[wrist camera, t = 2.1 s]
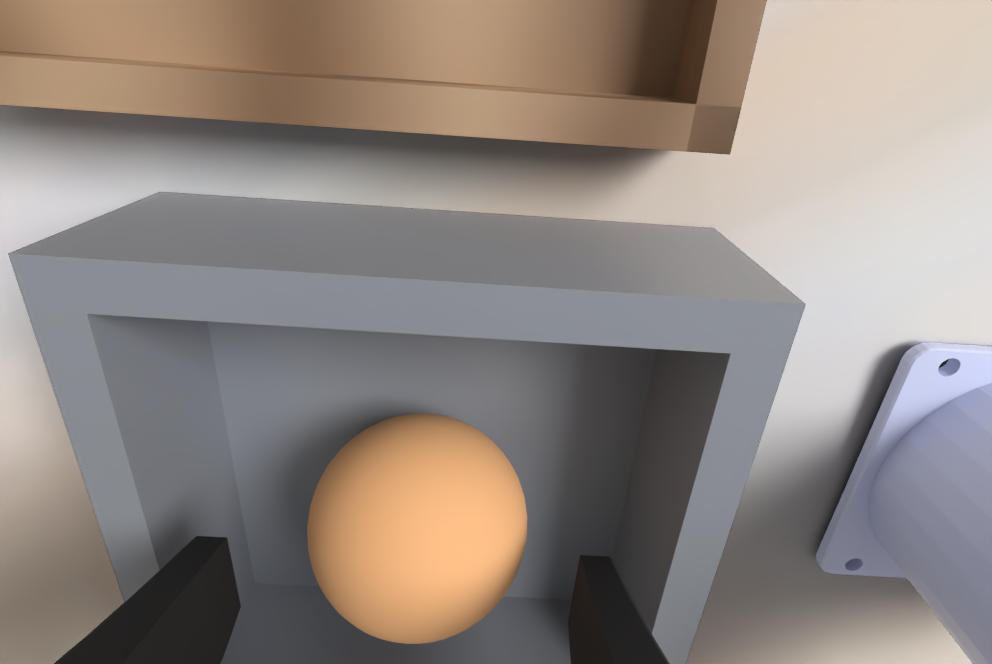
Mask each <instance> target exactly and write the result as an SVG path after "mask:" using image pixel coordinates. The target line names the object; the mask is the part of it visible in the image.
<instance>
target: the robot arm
mask: <svg viewBox="0 0 992 664" xmlns="http://www.w3.org/2000/svg"><path fill="white" fill-rule="evenodd" d="M947 359H949V361H948V362H947V363H946V364H945V365H944V366H942V367H941V368H939V366H940V365H941V363H942V362H944V361H945V360H947ZM816 560H817V562H818V564H819V566H820V567H821V569H822V570H823V571H824V572H826V573H830V574H840V575H859V576H877V577H895V578H907V579H908V580H909V581H910V583H911V584H912V585H913V587H914V588H915V589H916V590H917V592H918V593H919V594H920V596H921V597H922V598H923V600H924V601H925V602H926V603H927V605H928V606H929V607H930V609H931V610H932V611H933V613H934V614H935V615H936V616H937V618H938V619H939V620H940V622H941V623H942V624H943V626H944V627H945V628H946V629H947V631H948V632H949V633H950V635H951V636H952V637H953V639H954V640H955V641H956V642H957V644H958V645H959V646H960V648H961V649H962V650H963V652H964V653H965V654H966V655H967V657H968V658H969V659H970V661H971V662H972V663H973V664H992V346H979V345H963V344H947V343H931V342H927V343H920V344H917V345H915V346H913V347H911V348H910V349H909V350H908V351H906V353H905V354H904V356H903V357H902V359H901V361H900V363H899V366H898V368H897V370H896V372H895V375H894V377H893V379H892V382H891V384H890V386H889V388H888V391H887V393H886V395H885V398H884V400H883V402H882V404H881V407H880V409H879V411H878V414H877V416H876V418H875V421H874V423H873V425H872V427H871V430H870V432H869V434H868V437H867V439H866V441H865V443H864V446H863V448H862V450H861V453H860V455H859V457H858V459H857V462H856V464H855V466H854V469H853V471H852V473H851V475H850V478H849V480H848V482H847V485H846V487H845V489H844V492H843V494H842V496H841V498H840V501H839V503H838V505H837V508H836V510H835V512H834V514H833V517H832V519H831V521H830V524H829V526H828V528H827V530H826V533H825V535H824V537H823V540H822V542H821V544H820V547H819V549H818V551H817V553H816ZM240 608H241V604H240V599H239V594H238V589H237V584H236V579H235V574H234V569H233V564H232V559H231V554H230V549H229V544H228V539H227V537H209V536H196V537H195V538H194V539H193V540H191V541H190V542H189V543H188V544H187V545H186V546H185V547H184V548H183V549H182V550H181V551H179V552H178V553H177V554H176V555H175V556H174V557H173V558H172V559H171V560H170V561H169V562H168V563H167V564H166V565H164V566H163V567H162V568H161V569H160V570H159V571H158V572H157V573H156V574H155V575H154V576H153V577H152V578H151V579H149V580H148V581H147V582H146V583H145V584H144V585H143V586H142V587H141V588H140V589H139V590H138V591H136V592H135V593H134V594H133V595H132V596H131V597H130V598H129V599H128V600H127V601H126V602H124V603H123V604H122V605H121V606H120V607H119V608H118V609H117V610H115V611H114V612H113V613H112V614H111V615H110V616H109V617H108V618H107V619H105V620H104V621H103V622H102V623H101V624H100V625H99V626H98V627H96V628H95V629H94V630H93V631H92V632H91V633H90V634H88V635H87V636H86V637H85V638H84V639H83V640H81V641H80V642H79V643H78V644H77V645H76V646H74V647H73V648H72V649H71V650H70V651H68V652H67V653H66V654H65V655H64V656H62V657H61V658H60V659H59V660H58V661H56V662H55V663H54V664H220V663H221V661H222V659H223V656H224V653H225V651H226V648H227V645H228V642H229V640H230V637H231V634H232V631H233V628H234V625H235V622H236V619H237V616H238V613H239V611H240ZM568 630H569V645H570V659H571V664H670V663H669V662H668V660H667V658H666V657H665V655H664V653H663V652H662V650H661V649H660V647H659V645H658V644H657V642H656V640H655V639H654V637H653V635H652V633H651V632H650V630H649V628H648V626H647V625H646V623H645V621H644V619H643V618H642V616H641V614H640V612H639V610H638V608H637V607H636V605H635V603H634V601H633V599H632V597H631V595H630V593H629V591H628V589H627V587H626V585H625V583H624V582H623V579H622V577H621V575H620V573H619V571H618V569H617V567H616V565H615V563H614V561H613V560H612V559H611V558H610V557H609V556H589V555H580V558H579V563H578V569H577V574H576V580H575V585H574V591H573V597H572V602H571V608H570V613H569V619H568Z"/></svg>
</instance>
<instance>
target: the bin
mask: <svg viewBox="0 0 992 664" xmlns="http://www.w3.org/2000/svg"><path fill="white" fill-rule="evenodd" d="M8 255H9V258H10V261H11V264H12V267H13V270H14V273H15V276H16V279H17V282H18V285H19V288H20V291H21V294H22V297H23V300H24V303H25V306H26V309H27V312H28V315H29V318H30V321H31V324H32V327H33V330H34V333H35V336H36V339H37V342H38V345H39V348H40V351H41V354H42V357H43V360H44V363H45V366H46V369H47V372H48V375H49V378H50V381H51V384H52V387H53V390H54V393H55V396H56V399H57V402H58V405H59V408H60V411H61V414H62V417H63V420H64V423H65V426H66V429H67V432H68V435H69V438H70V441H71V444H72V447H73V450H74V453H75V456H76V459H77V462H78V465H79V468H80V471H81V474H82V477H83V480H84V483H85V486H86V489H87V492H88V495H89V498H90V501H91V504H92V507H93V510H94V513H95V516H96V519H97V522H98V525H99V528H100V531H101V534H102V537H103V540H104V543H105V546H106V549H107V552H108V555H109V558H110V561H111V564H112V567H113V570H114V572H115V575H116V578H117V581H118V584H119V587H120V590H121V593H122V596H123V599H124V602H126V601H127V600H128V599H129V598H130V597H131V596H132V595H133V594H134V593H135V592H136V591H138V590H139V589H140V588H141V587H142V586H143V585H144V584H145V583H146V582H147V581H148V580H149V579H151V578H152V577H153V576H154V575H155V574H156V573H157V572H158V571H159V570H160V569H161V568H162V567H163V566H164V565H166V564H167V563H168V562H169V561H170V560H171V559H172V558H173V557H174V556H175V555H176V554H177V553H178V552H179V551H181V550H182V549H183V548H184V547H185V546H186V545H187V544H188V543H189V542H190V541H191V540H193V539H194V538H195V537H196V536H209V537H227V539H228V544H229V549H230V554H231V559H232V564H233V569H234V574H235V579H236V584H237V589H238V594H239V599H240V604H241V608H240V611H239V613H238V616H237V619H236V622H235V625H234V628H233V631H232V634H231V637H230V640H229V642H228V645H227V648H226V651H225V653H224V656H223V659H222V661H221V663H220V664H571V659H570V645H569V630H568V619H569V613H570V608H571V602H572V597H573V591H574V585H575V580H576V574H577V569H578V563H579V558H580V555H589V556H609V557H610V558H611V559H612V560H613V561H614V563H615V565H616V567H617V569H618V571H619V573H620V575H621V577H622V579H623V582H624V583H625V585H626V587H627V589H628V591H629V593H630V595H631V597H632V599H633V601H634V603H635V605H636V607H637V608H638V610H639V612H640V614H641V616H642V618H643V619H644V621H645V623H646V625H647V626H648V628H649V630H650V632H651V633H652V635H653V637H654V639H655V640H656V642H657V644H658V645H659V647H660V649H661V650H662V652H663V653H664V655H665V657H666V658H667V660H668V662H669V663H670V664H686V661H687V658H688V655H689V652H690V649H691V646H692V643H693V640H694V637H695V634H696V631H697V628H698V625H699V622H700V619H701V616H702V613H703V610H704V607H705V604H706V601H707V598H708V595H709V592H710V589H711V586H712V583H713V580H714V577H715V574H716V571H717V568H718V565H719V562H720V559H721V556H722V553H723V550H724V547H725V544H726V541H727V538H728V535H729V532H730V529H731V526H732V523H733V520H734V517H735V514H736V511H737V508H738V505H739V502H740V499H741V496H742V493H743V490H744V487H745V484H746V481H747V478H748V475H749V472H750V469H751V466H752V463H753V460H754V457H755V454H756V451H757V448H758V446H759V443H760V440H761V437H762V434H763V431H764V428H765V425H766V422H767V419H768V416H769V413H770V410H771V407H772V404H773V401H774V398H775V395H776V392H777V389H778V386H779V383H780V380H781V377H782V374H783V371H784V368H785V365H786V362H787V359H788V356H789V353H790V350H791V347H792V344H793V341H794V338H795V335H796V332H797V329H798V326H799V323H800V320H801V317H802V314H803V311H804V308H805V305H806V304H805V303H804V302H803V301H801V300H800V299H799V298H798V297H797V296H795V295H794V294H793V293H792V292H791V291H789V290H788V289H787V288H786V287H784V286H783V285H782V284H781V283H780V282H778V281H777V280H776V279H775V278H774V277H772V276H771V275H770V274H769V273H768V272H766V271H765V270H764V269H763V268H762V267H760V266H759V265H758V264H757V263H756V262H754V261H753V260H752V259H751V258H750V257H748V256H747V255H746V254H745V253H744V252H742V251H741V250H740V249H739V248H738V247H736V246H735V245H734V244H733V243H732V242H730V241H729V240H728V239H727V238H726V237H724V236H723V235H722V234H721V233H720V232H718V231H717V230H716V229H715V228H703V227H688V226H672V225H657V224H642V223H627V222H612V221H596V220H581V219H566V218H551V217H536V216H520V215H505V214H490V213H475V212H459V211H444V210H429V209H414V208H399V207H383V206H368V205H353V204H338V203H323V202H307V201H292V200H277V199H262V198H246V197H231V196H216V195H201V194H186V193H170V192H158V193H156V194H153V195H151V196H149V197H146V198H144V199H141V200H139V201H136V202H134V203H131V204H129V205H126V206H124V207H121V208H119V209H117V210H114V211H112V212H109V213H107V214H104V215H102V216H99V217H97V218H94V219H92V220H89V221H87V222H85V223H82V224H80V225H77V226H75V227H72V228H70V229H67V230H65V231H62V232H60V233H57V234H55V235H53V236H50V237H48V238H45V239H43V240H40V241H38V242H35V243H33V244H30V245H28V246H25V247H23V248H21V249H18V250H16V251H13V252H11V253H8ZM408 414H437V415H443V416H447V417H451V418H454V419H457V420H460V421H462V422H464V423H466V424H468V425H471V426H473V427H474V428H476V429H477V430H479V431H481V432H482V433H483V434H485V435H486V436H487V437H488V438H490V439H491V440H492V441H493V442H494V443H495V444H496V445H497V446H498V447H499V448H500V450H501V451H502V452H503V453H504V454H505V456H506V457H507V459H508V460H509V462H510V463H511V465H512V467H513V468H514V470H515V472H516V474H517V476H518V479H519V481H520V484H521V487H522V491H523V494H524V497H525V504H526V511H527V539H526V544H525V549H524V553H523V558H522V561H521V564H520V566H519V569H518V571H517V574H516V576H515V579H514V580H513V582H512V584H511V585H510V587H509V589H508V590H507V592H506V593H505V595H504V597H503V598H502V599H501V600H500V601H499V603H498V604H497V605H496V606H495V607H494V608H493V609H492V610H491V611H490V612H489V613H488V614H487V615H486V616H485V617H484V618H483V619H481V620H480V621H478V622H477V623H476V624H474V625H473V626H471V627H470V628H468V629H467V630H465V631H463V632H461V633H459V634H456V635H454V636H451V637H449V638H446V639H443V640H439V641H436V642H430V643H422V644H404V643H396V642H390V641H386V640H383V639H379V638H377V637H374V636H371V635H369V634H367V633H365V632H363V631H361V630H360V629H358V628H356V627H355V626H354V625H352V624H351V623H350V622H349V621H347V620H346V619H345V618H343V617H342V616H341V615H340V614H339V613H338V612H337V611H336V610H335V608H334V607H333V606H332V605H331V603H330V602H329V601H328V599H327V598H326V597H325V595H324V593H323V592H322V590H321V588H320V586H319V584H318V582H317V579H316V577H315V574H314V572H313V569H312V565H311V561H310V556H309V551H308V537H307V525H308V518H309V511H310V505H311V502H312V499H313V496H314V493H315V490H316V487H317V484H318V482H319V481H320V479H321V477H322V475H323V473H324V471H325V470H326V468H327V466H328V465H329V463H330V462H331V461H332V460H333V458H334V457H335V456H336V455H337V453H338V452H339V451H340V450H341V448H343V447H344V446H345V445H346V444H347V443H348V442H349V441H350V440H351V439H353V438H354V437H355V436H356V435H358V434H359V433H361V432H362V431H364V430H365V429H367V428H369V427H371V426H373V425H375V424H377V423H379V422H381V421H384V420H387V419H389V418H392V417H397V416H401V415H408Z"/></svg>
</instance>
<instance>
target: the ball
mask: <svg viewBox="0 0 992 664" xmlns="http://www.w3.org/2000/svg"><path fill="white" fill-rule="evenodd" d="M307 537H308V551H309V556H310V561H311V565H312V569H313V572H314V574H315V577H316V579H317V582H318V584H319V586H320V588H321V590H322V592H323V593H324V595H325V597H326V598H327V599H328V601H329V602H330V603H331V605H332V606H333V607H334V608H335V610H336V611H337V612H338V613H339V614H340V615H341V616H342V617H343V618H345V619H346V620H347V621H349V622H350V623H351V624H352V625H354V626H355V627H356V628H358V629H360V630H361V631H363V632H365V633H367V634H369V635H371V636H374V637H377V638H379V639H383V640H386V641H390V642H396V643H404V644H422V643H430V642H436V641H439V640H443V639H446V638H449V637H451V636H454V635H456V634H459V633H461V632H463V631H465V630H467V629H468V628H470V627H471V626H473V625H474V624H476V623H477V622H478V621H480V620H481V619H483V618H484V617H485V616H486V615H487V614H488V613H489V612H490V611H491V610H492V609H493V608H494V607H495V606H496V605H497V604H498V603H499V601H500V600H501V599H502V598H503V597H504V595H505V593H506V592H507V590H508V589H509V587H510V585H511V584H512V582H513V580H514V579H515V576H516V574H517V571H518V569H519V566H520V564H521V561H522V558H523V553H524V549H525V544H526V539H527V511H526V504H525V497H524V494H523V491H522V487H521V484H520V481H519V479H518V476H517V474H516V472H515V470H514V468H513V467H512V465H511V463H510V462H509V460H508V459H507V457H506V456H505V454H504V453H503V452H502V451H501V450H500V448H499V447H498V446H497V445H496V444H495V443H494V442H493V441H492V440H491V439H490V438H488V437H487V436H486V435H485V434H483V433H482V432H481V431H479V430H477V429H476V428H474V427H473V426H471V425H468V424H466V423H464V422H462V421H460V420H457V419H454V418H451V417H447V416H443V415H437V414H408V415H401V416H397V417H392V418H389V419H387V420H384V421H381V422H379V423H377V424H375V425H373V426H371V427H369V428H367V429H365V430H364V431H362V432H361V433H359V434H358V435H356V436H355V437H354V438H353V439H351V440H350V441H349V442H348V443H347V444H346V445H345V446H344V447H343V448H341V450H340V451H339V452H338V453H337V455H336V456H335V457H334V458H333V460H332V461H331V462H330V463H329V465H328V466H327V468H326V470H325V471H324V473H323V475H322V477H321V479H320V481H319V482H318V484H317V487H316V490H315V493H314V496H313V499H312V502H311V505H310V511H309V518H308V525H307Z"/></svg>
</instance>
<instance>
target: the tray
mask: <svg viewBox="0 0 992 664" xmlns="http://www.w3.org/2000/svg"><path fill="white" fill-rule="evenodd" d="M766 1H767V0H0V105H12V106H27V107H42V108H56V109H71V110H86V111H100V112H115V113H130V114H144V115H159V116H174V117H188V118H203V119H218V120H232V121H247V122H262V123H276V124H291V125H306V126H320V127H335V128H350V129H364V130H379V131H394V132H408V133H423V134H438V135H452V136H467V137H482V138H496V139H511V140H526V141H540V142H555V143H570V144H584V145H599V146H614V147H628V148H643V149H658V150H672V151H687V152H702V153H716V154H730V152H731V148H732V144H733V139H734V135H735V131H736V127H737V123H738V119H739V114H740V110H741V106H742V102H743V98H744V93H745V89H746V85H747V81H748V77H749V72H750V68H751V64H752V60H753V56H754V52H755V47H756V43H757V39H758V35H759V31H760V26H761V22H762V18H763V14H764V10H765V5H766Z"/></svg>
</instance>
